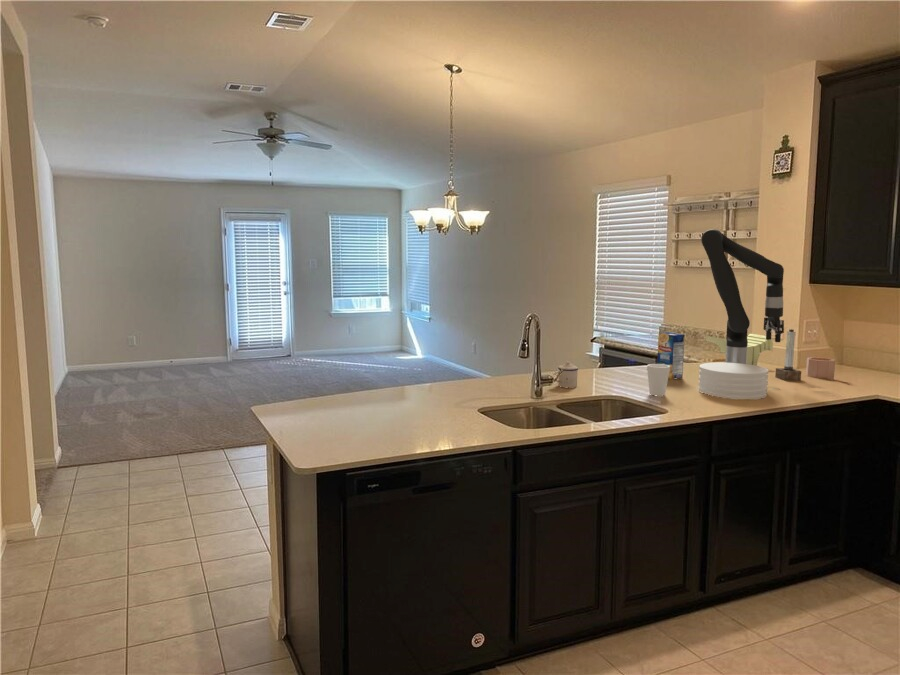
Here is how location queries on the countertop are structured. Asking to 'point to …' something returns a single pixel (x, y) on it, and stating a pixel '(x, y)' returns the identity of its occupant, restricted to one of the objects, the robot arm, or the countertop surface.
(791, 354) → the tongs
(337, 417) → the countertop surface
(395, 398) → the countertop surface
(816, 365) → the utensil crock
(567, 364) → the teacup with lid
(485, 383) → the countertop surface
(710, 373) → the plate stack
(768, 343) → the slatted curved stool
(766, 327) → the robot arm
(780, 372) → the tong rest
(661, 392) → the foam cup
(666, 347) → the beverage box
